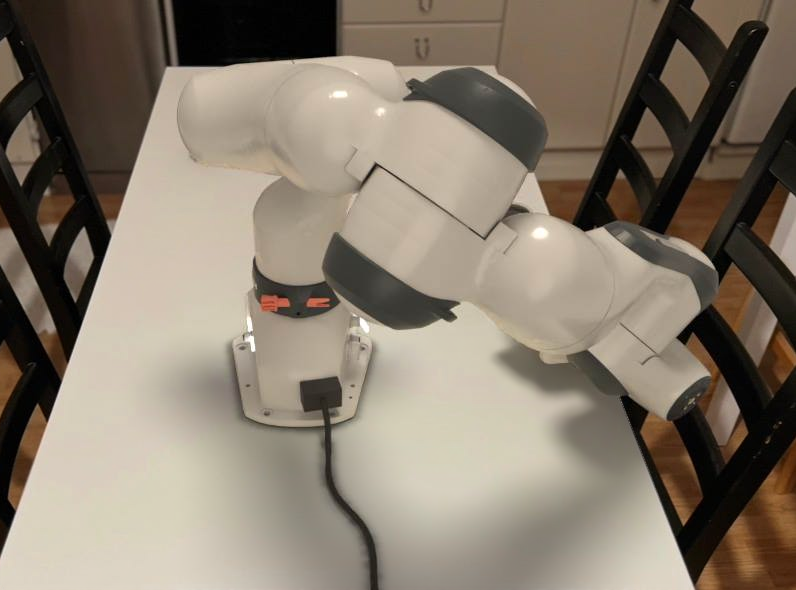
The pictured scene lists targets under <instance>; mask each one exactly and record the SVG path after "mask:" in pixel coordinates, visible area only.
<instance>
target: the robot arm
mask: <svg viewBox="0 0 796 590" xmlns="http://www.w3.org/2000/svg"><path fill="white" fill-rule="evenodd" d="M176 122H177V128H178V133H179V136H180V139H181V141H182V144H183V145H184V147H185V148H186V150H187V151H188V152H189V154H190V156H192V158H193V159H194V160H196V161H197V163H199V164H200V165H201V166H203V167H210V168H211V167H212V168H218V169H231V170H239V171H246V172H252V173H257V174H263V175H267V176H274V177H278V179H276V180H274V181H273V182H271V183H270V184H269V185H268V186H266V187H265V188H264V190H263V191H262V192H261V193H260V195H259V197H258V198H257V200H256V202H255V204H254V207H253V210H252V214H251V215H252V229H253V242H254V243H253V245H254V256H253V257H252V258H253V259H252V267H251V279H252V285H253V286H252V287H251V289H249V290H248V291H247V292H246V293H245V294H244V308H245V322H246V331H245V332H243V334H241V335H238V336H237V337H235V338H234V339H233V340H232V353H233V360H234V365H235V370H236V371H235V372H236V375H237V376H236V377H237V382H238V388H239V394H240V398H241V405H242V410H243V414H244V416H245V417H246V418H248V419H250V420H252V421H255V422H257V423H260V424H265V425H268V426H269V425H270V426H276V427H285V428H286V427H291V428H309V427H311V428H313V427H322V426H324V452H325V464H324V473H325V479H326V483H327V486H328V489H329V491H330V493H331V495H332V497H333V499H334V500H335V502H336V503H337V505H338V506H339V507H340V508H341V509H342V510H343V511H344V513H346V514H347V515H348V516H349V517H350V518H351V519H352V521H353V522H355V524H356V525H357V526H358V528H359V529H360V531H361V532H362V534H363V537H364V539H365V542H366V545H367V550H368V555H369V575H370V576H369V578H370V579H369V580H370V590H379V579H378V578H379V577H378V556H377V549H376V546H375V541H374V539H373V537H372V534H371V531H370V530H369V528H368V526H367V524H366V523H365V522H364V520H363V519H362V517H361V516H360V515H359V514H358V513H357V512H356V511H355V510H354V509H353V508H352V507H351V506H350V505H349V504H348V503H347V502H346V501H345V499H344V498H343V497H342V496H341V494H340V492H339V491H338V489H337V487H336V484H335V481H334V477H333V471H332V452H333V451H332V447H333V446H332V425H334V424H335V425H336V424H338V423H341V422H344V421H347V420H349V419H351V418H353V417H354V416H355V415H356V412H357V408H358V404H359V400H360V396H361V392H362V389H363V387H364V385H363V384H364V381H365V378H366V374H367V371H368V366H369V362H370V359H371V355H372V352H373V342H372V340H371V338H369V337H368V336H366V335H364V334H361V333H359V328H360V325H361V327H362V328H363V330H364V331H365V333H368V332H369V326H368V324H367V323H366V322H368V323H370V324H373V325H376V326H380V327H386V328H390V329H392V330H395V331H408V330H416V329H423V328H425V327H427V326H430V325H433V324H435V323H437V322H438V321H441V320H443V321H445V322H447V323H453V322H454V321H457V320H458V316H457V315H456V313H454V312H453V311H452V309H454V308H455V307H458V306H460V305H461V303H465V302H466V303H469V304H471V305H473V306H474V307H476V308H477V309H479V310H480V311H482V312H483V313H484V314H485V315H486V316H487V317H488V318H489V319H490V320H491V321H492V322H493V323H494V324H495V325H496V326H497V327H498V328H499V329H501V330H502V331H503V332H504V333H505V334H506V335H508V336H509V337H511V338H512V339H514V340H516V341H517V342H519V343H521V344H523V345H524V346H525V347H527V348H529V349H532V350H535V351H538V352H539V358H540V360H541V361H542V362H544V363H545V364H548V365H555V364H556V365H557V364H567V363H569V364H571V366H572V367H574V368H575V369H576V370H578V371H579V372H581V373H582V374H583V375H584V376H585V377H587V378H588V380H589V381H590V382H591V383H592V385H594V387H595V388H596V389H597V391H599V392H600V393H602V394H604V395H605V396H616V397H623V396H625V397H626V396H628V397H629V398H630V399H631V400H632V401H634V402H635V403H637V404H638V405H639V406H641V407H642V408H644V409H645V410H646V411H647V412H648V413H650V414H652V415H654V416H655V417H657V418H659V419H661V420H662V421H664V422H673V421H676V420H679V419H681V418H682V417H683V416H685V415H687V414H688V413H689V412H690V411H692V409H693V408H694V407H696V406H697V404H698V403H700V401H701V400H702V399H703V398H704V397H705V395H707V392H708V390H709V389H710V387H711V383H712V379H713V376H712V373H710V371H709V370H708V369H707V367H706V366H705V365H704V364H703V363H702V362H701V360H700V359H698V357H697V356H696V355H695V354H694V353H693V351H691V350H690V349H689V348H688V347H687V346H686V345H685V344H683V343H682V341H680V340H679V339H678V338H677V337H678V336H679V335H680V334H681V333H682V332H683V331H684V329H686V327H687V326H688V325H690V324H691V323H692V321H694V319H695V318H696V317H698V316H699V315H700V314H701V313H702V312H703V311H705V310H706V309H707V308H708V307H709V306H711V304H712V303H714V301H716V300H717V299H718V295H719V272H718V271H717V270H716V267H715V265H714V264H713V263H712V261H711V260H710V257H708V256H707V255H706V254H705V253H704V252H703V251H701V250H700V249H699V248H698V247H696V246H695V245H694V244H692V243H691V242H689V241H686V240H684V239H682V238H679V237H674V236H671V235H670V234H661V233H658V232H656V231H654V230H651V229H649V228H646V227H644V226H641V225H639V224H635V223H632V222H629V221H623V220H615V221H611V222H609V223H607V224H603V226H600V227H597V228H594V229H590V230H586V231H583V230H582V229H581V228H579V227H577V226H575V225H573V224H572V223H570V222H568V221H567V220H565V219H562V218H559V217H556V216H553V215H550V214H546V213H542V212H534V213H519V214H515V215H512V216H509V217H507V218H505V219H503V217H504V215H505V214H506V212H507V210H508V209H509V207H510V205H511V204H512V202H514V200H515V198H516V196H517V195H518V193H519V192H520V189H521V187H522V186H523V184H524V182H525V180H526V178H527V176H528V174H533V173H534V172H535V170H536V168H537V166H538V164H539V162H540V160H541V157H542V155H543V153H544V150H545V147H546V144H547V141H548V138H549V131H548V128H547V123H546V119H545V117H544V116H543V114H541V112H539V110H538V108H537V106H536V105H535V103H534V102H533V100H532V99H531V98H530V97H529V96H528V94H527V93H526V92H525V91H524V90H523V89H522V88H521V87H520V86H518V85H517V84H516V83H515V82H513V81H512V80H510V79H508V78H506V77H505V76H503V75H500V74H497V73H495V72H491V71H486V70H481V69H479V68H476V67H472V66H465V67H457V68H451V69H446V70H441V71H440V72H438V73H436V74H434V75H432V76H430V77H428V78H427V79H425V80H423V81H421V80H419V79H417V78H414V77H412V78H410V79H409V80H408V81H406V80H405V78H404V76H403V75H402V73H401V72H400V70H399V69H398V68H397V67H396V66H395V64H393V63H392V61H389V60H386V59H380V58H379V59H378V58H372V57H365V56H356V55H340V56H338V55H337V56H326V57H325V56H323V57H313V58H300V59H298V58H297V59H287V60H273V61H259V62H249V63H248V62H246V63H235V64H231V65H226V66H223V67H218V68H215V69H212V70H207V71H205V72H201V73H198V74H195V75H192V76H191V77H190V78H189V79H188V81H187V83H186V84H185V85H184V86H183V89H182V91H181V93H180V96H179V99H178V103H177V110H176ZM354 195H356V197H355V199H354V201H353V202H352V204H351V206H350V203H351V200H352V198H353V196H354ZM349 206H350V208H349ZM502 219H503V220H502Z"/></svg>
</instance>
